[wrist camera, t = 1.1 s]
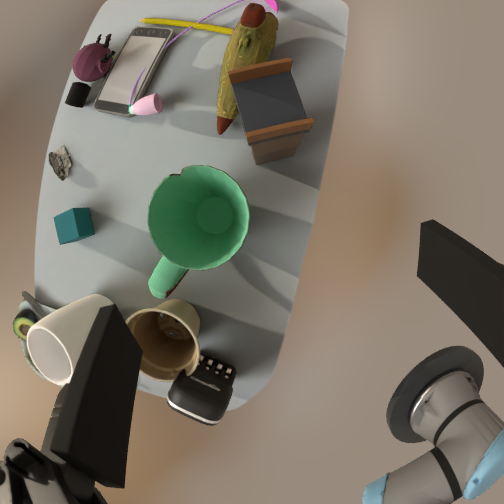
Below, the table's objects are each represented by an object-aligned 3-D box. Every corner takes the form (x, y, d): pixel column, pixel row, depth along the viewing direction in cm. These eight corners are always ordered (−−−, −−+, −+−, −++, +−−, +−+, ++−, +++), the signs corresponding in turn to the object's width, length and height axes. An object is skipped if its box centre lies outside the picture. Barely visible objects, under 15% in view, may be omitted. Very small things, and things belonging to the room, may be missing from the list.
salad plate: (99, 313, 39) (83, 323, 34) (105, 401, 41) (93, 415, 37) (20, 283, 39) (3, 289, 35) (30, 365, 42) (17, 375, 37)
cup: (79, 288, 38) (17, 317, 24) (124, 290, 38) (65, 326, 24) (88, 338, 40) (35, 380, 26) (132, 345, 39) (84, 395, 25)
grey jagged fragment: (44, 150, 34) (56, 137, 33) (54, 153, 36) (65, 141, 36) (55, 179, 34) (67, 165, 33) (64, 181, 36) (76, 168, 36)
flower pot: (141, 286, 38) (113, 308, 29) (208, 285, 37) (193, 308, 29) (152, 348, 39) (130, 379, 31) (215, 349, 39) (205, 384, 30)
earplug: (129, 123, 31) (139, 130, 34) (307, 28, 28) (307, 40, 30) (107, 67, 32) (115, 74, 34) (258, -15, 28) (260, -4, 31)
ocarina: (241, 143, 34) (231, 119, 24) (201, 132, 34) (178, 106, 24) (287, 24, 31) (292, -18, 21) (252, 16, 31) (247, -27, 21)
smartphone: (174, 28, 31) (130, 116, 33) (176, 32, 32) (133, 118, 34) (134, 26, 31) (91, 108, 33) (136, 29, 32) (95, 110, 34)
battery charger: (243, 363, 38) (229, 409, 27) (232, 384, 39) (217, 431, 27) (197, 343, 39) (169, 381, 27) (188, 363, 39) (160, 405, 28)
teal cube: (94, 234, 37) (79, 236, 33) (75, 241, 37) (59, 244, 34) (88, 207, 37) (72, 208, 33) (69, 216, 37) (53, 217, 33)
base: (308, 132, 23) (314, 122, 20) (248, 146, 23) (246, 137, 20) (288, 72, 22) (291, 57, 19) (231, 85, 22) (226, 71, 19)
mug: (203, 162, 35) (180, 146, 25) (269, 203, 35) (271, 200, 26) (147, 258, 37) (111, 275, 27) (208, 299, 38) (189, 329, 28)
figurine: (86, 113, 31) (124, 35, 27) (42, 99, 28) (77, 23, 23) (101, 109, 38) (133, 44, 33) (62, 97, 34) (92, 32, 30)
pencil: (236, 31, 32) (235, 28, 31) (233, 36, 32) (232, 33, 31) (141, 19, 32) (139, 16, 31) (138, 23, 32) (136, 20, 31)
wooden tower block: (293, 155, 34) (306, 130, 23) (255, 165, 35) (250, 143, 23) (281, 115, 34) (287, 74, 22) (244, 124, 34) (234, 86, 22)
